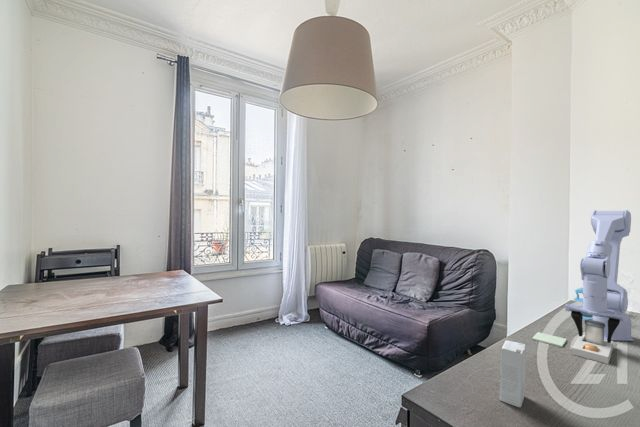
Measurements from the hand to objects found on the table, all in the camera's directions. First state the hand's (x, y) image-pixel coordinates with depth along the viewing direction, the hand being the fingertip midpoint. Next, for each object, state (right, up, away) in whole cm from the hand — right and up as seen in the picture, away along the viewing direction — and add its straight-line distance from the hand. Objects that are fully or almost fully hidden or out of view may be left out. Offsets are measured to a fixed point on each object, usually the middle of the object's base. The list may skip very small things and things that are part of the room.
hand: (594, 338), depth 96 cm
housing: (-3, -3, -2) cm, 4 cm away
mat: (-10, -3, +6) cm, 12 cm away
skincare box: (-43, -3, -27) cm, 51 cm away
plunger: (-6, -2, -5) cm, 8 cm away
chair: (+23, -3, +29) cm, 37 cm away
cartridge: (0, -3, 0) cm, 3 cm away
